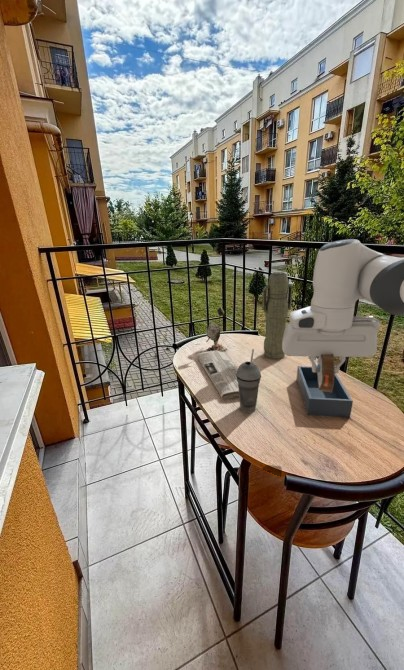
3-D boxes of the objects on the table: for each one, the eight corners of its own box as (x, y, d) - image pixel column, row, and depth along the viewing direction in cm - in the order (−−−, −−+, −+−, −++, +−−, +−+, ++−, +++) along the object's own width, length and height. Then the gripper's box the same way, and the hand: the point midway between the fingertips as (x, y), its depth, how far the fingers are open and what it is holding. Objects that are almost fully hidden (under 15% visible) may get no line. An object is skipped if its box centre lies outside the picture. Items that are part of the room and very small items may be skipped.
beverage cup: (241, 399, 90) (242, 342, 83) (263, 405, 87) (266, 346, 80) (231, 411, 84) (231, 351, 77) (254, 418, 81) (256, 355, 74)
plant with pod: (216, 343, 136) (215, 303, 129) (229, 351, 127) (229, 308, 120) (201, 347, 132) (199, 306, 125) (214, 355, 123) (213, 311, 116)
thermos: (256, 353, 123) (259, 272, 111) (280, 349, 126) (285, 270, 114) (266, 361, 115) (270, 275, 103) (291, 357, 118) (298, 273, 106)
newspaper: (196, 357, 121) (196, 350, 120) (223, 353, 124) (223, 346, 123) (223, 401, 89) (223, 392, 88) (258, 395, 92) (259, 385, 91)
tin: (331, 399, 61) (339, 365, 58) (316, 397, 62) (323, 363, 59) (326, 368, 74) (332, 339, 71) (314, 366, 75) (319, 338, 72)
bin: (330, 381, 99) (332, 367, 97) (350, 417, 80) (353, 400, 78) (296, 379, 101) (297, 366, 99) (307, 414, 82) (309, 398, 80)
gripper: (375, 312, 64) (365, 366, 69) (282, 313, 67) (280, 364, 72) (388, 320, 58) (377, 379, 63) (286, 321, 61) (283, 377, 66)
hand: (324, 371), depth 67 cm, fingers closed on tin, 3 cm apart
